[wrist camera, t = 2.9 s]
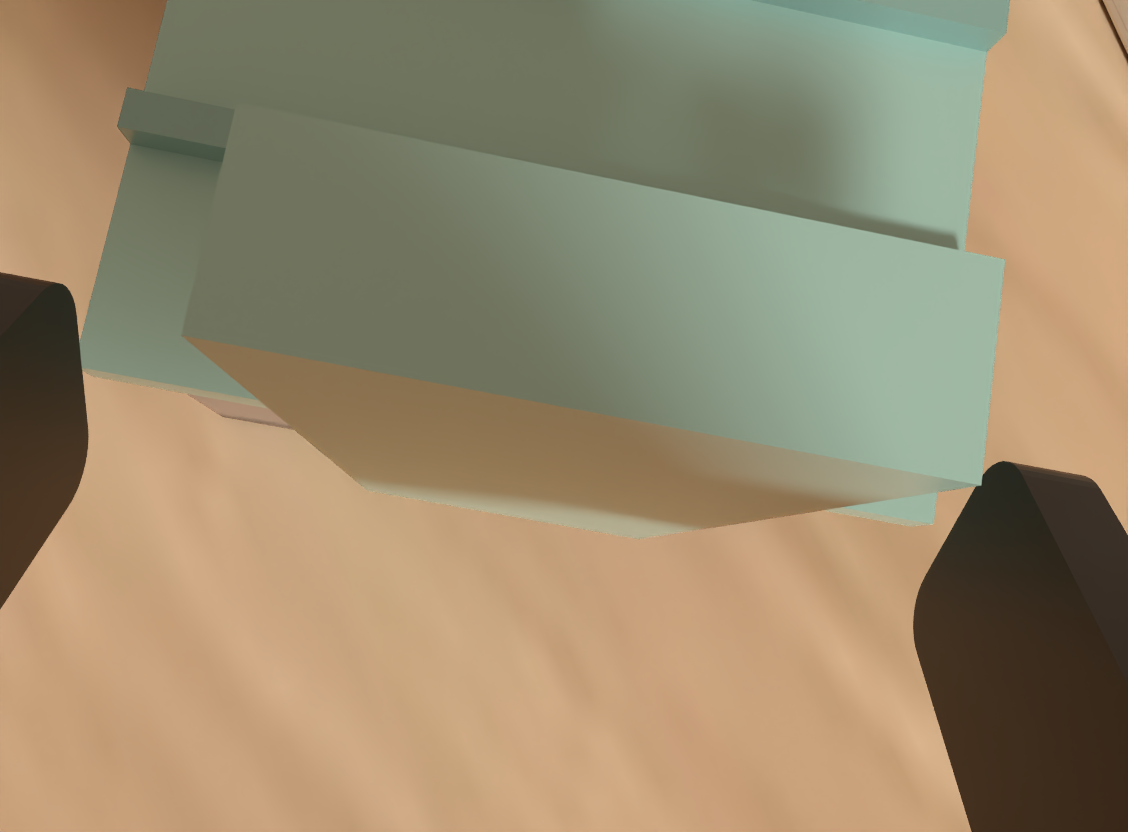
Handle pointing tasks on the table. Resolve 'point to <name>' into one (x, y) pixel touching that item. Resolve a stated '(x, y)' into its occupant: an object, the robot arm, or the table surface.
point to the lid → (571, 248)
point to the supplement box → (1119, 18)
